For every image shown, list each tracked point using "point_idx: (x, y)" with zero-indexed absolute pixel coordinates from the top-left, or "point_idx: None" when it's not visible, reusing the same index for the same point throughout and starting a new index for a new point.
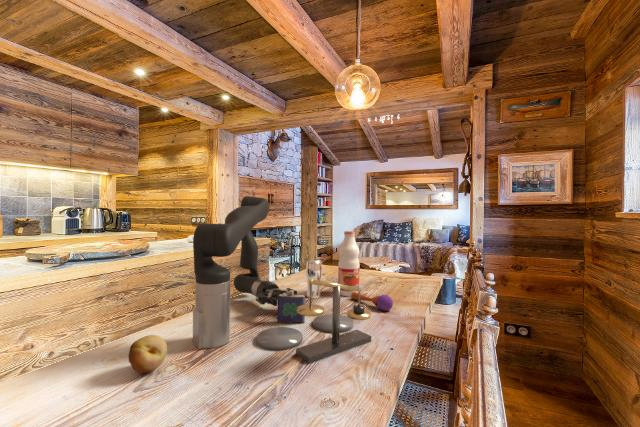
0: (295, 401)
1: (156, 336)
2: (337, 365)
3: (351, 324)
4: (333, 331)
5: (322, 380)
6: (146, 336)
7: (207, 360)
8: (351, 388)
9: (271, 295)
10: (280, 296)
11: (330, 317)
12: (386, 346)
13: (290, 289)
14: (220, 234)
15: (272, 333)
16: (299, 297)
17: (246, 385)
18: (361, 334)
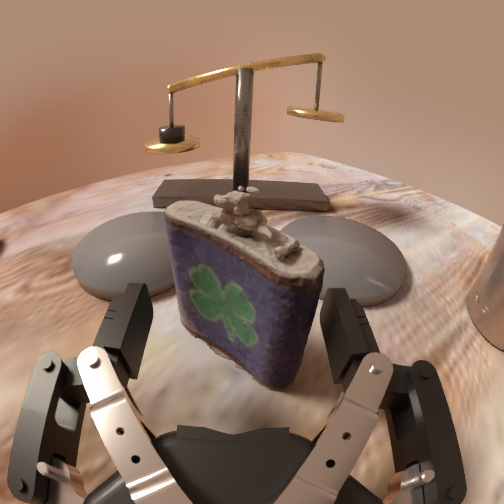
0: (357, 176)
1: None
2: (278, 180)
3: (125, 215)
4: (248, 164)
5: (316, 176)
6: None
7: (475, 261)
8: (293, 164)
9: (339, 404)
10: (313, 252)
11: (108, 262)
12: (166, 178)
13: (29, 440)
14: None
15: (361, 265)
16: (209, 206)
17: (408, 203)
18: (169, 186)
